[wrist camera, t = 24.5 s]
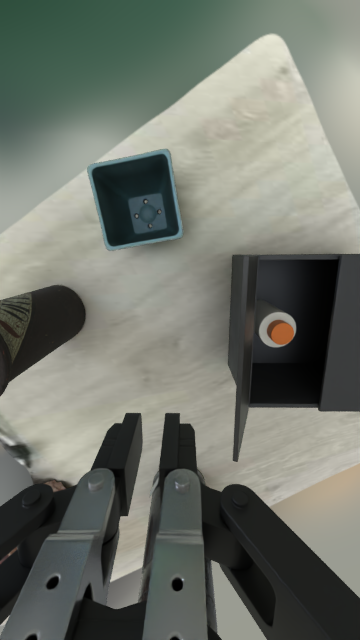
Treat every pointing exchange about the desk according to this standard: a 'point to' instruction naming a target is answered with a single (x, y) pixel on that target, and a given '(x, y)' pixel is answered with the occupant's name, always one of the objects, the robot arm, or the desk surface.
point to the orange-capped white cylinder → (273, 325)
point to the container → (36, 327)
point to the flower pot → (136, 199)
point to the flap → (245, 348)
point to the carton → (304, 331)
